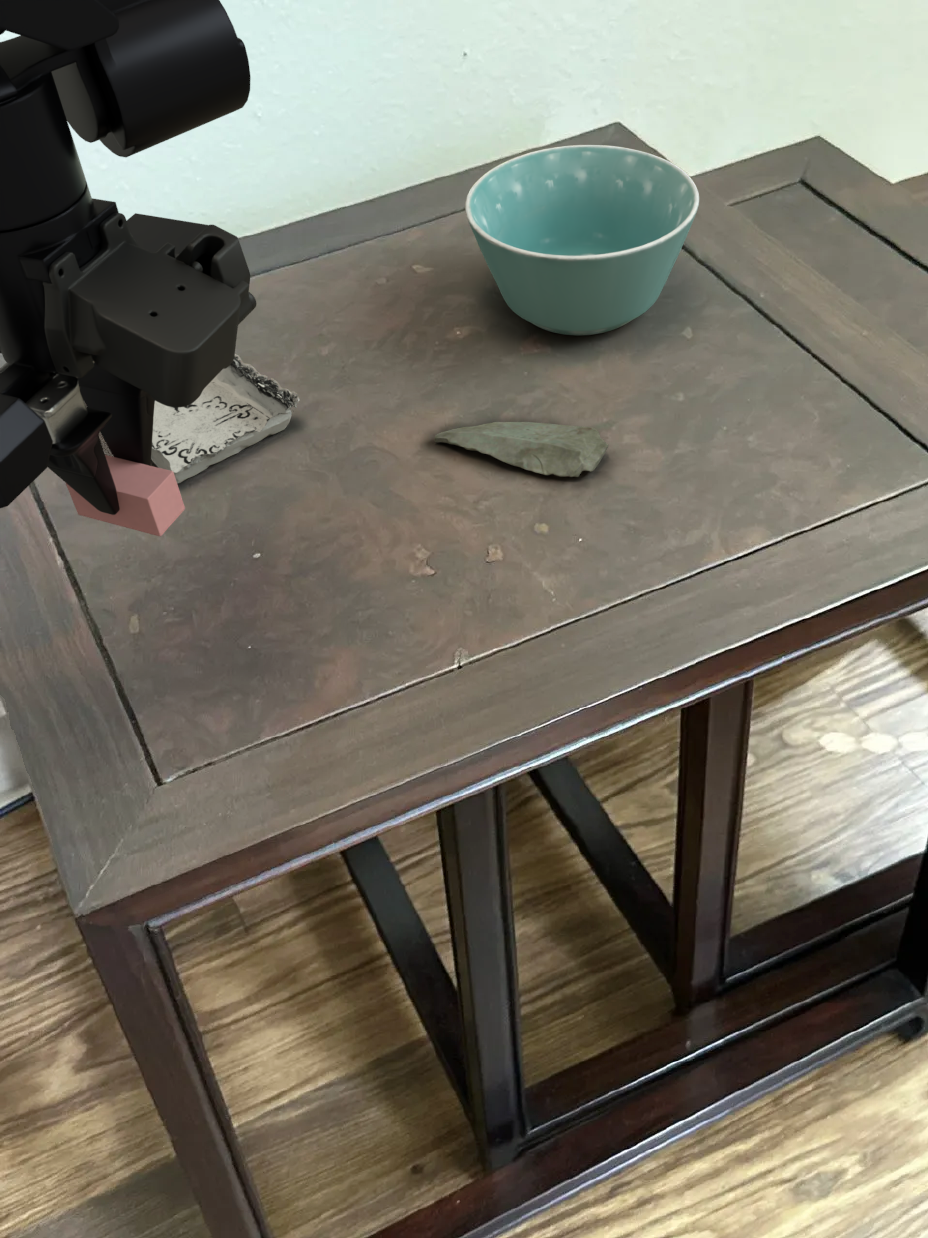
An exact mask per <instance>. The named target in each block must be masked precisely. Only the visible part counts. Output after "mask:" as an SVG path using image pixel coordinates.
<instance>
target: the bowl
mask: <svg viewBox="0 0 928 1238" xmlns="http://www.w3.org/2000/svg"><path fill="white" fill-rule="evenodd" d="M699 205H700V194H699V189H698V187H697V185H696V183H695V182H694V179H692V178H691V177H690V175H689V174H688V173H687V172H686V171H685V170H683V169H682V168H681V167H679V166H678V165H676V164H675V163H674V162H671V161H669V160H667V159H665V158H663V157H660V156H657V155H655V154H653V153H649V152H646V151H643V150H638V149H634V148H628V147H623V146H616V145H604V144H603V145H602V144H575V145H573V144H572V145H563V146H556V147H554V146H553V147H548V148H543V149H539V150H535V151H531V152H527V153H524V154H520V155H518V156H515V157H512V158H511V159H510V158H509V159H508V160H506V161H505V162H502V163H500V164H497V165H496V166H494V167H493V168H491V169H490V170H487V172H486V173H484V174H483V175H482V176H481V177H480V178H478V180H476V182H475V183H474V184H473V185H472V186H471V188H470V189H469V192H468V193H467V195H466V198H465V203H464V211H465V216H466V219H467V221H468V224H469V226H470V229H471V231H472V234H473V236H474V238H475V240H476V243H477V246H478V248H479V250H480V252H481V254H482V256H483V259H484V260H485V264H486V265H487V267H488V269H489V272H490V273H491V275H492V277H493V280H494V281H495V284H496V285H497V287H498V289H499V292H500V294H501V297H502V298H503V300H504V302H505V303H506V305H507V306H508V307H509V309H511V311H512V312H514V313H515V314H516V315H517V316H518V317H520V318H521V319H523V320H525V321H527V322H529V323H531V324H532V325H534V326H536V327H537V328H540V329H542V330H544V331H547V332H551V333H555V334H560V335H566V336H591V335H599V334H603V333H608V332H610V331H614V330H616V329H618V328H621V327H624V326H625V325H627V324H628V323H630V322H631V321H633V320H635V319H637V318H639V317H640V316H642V315H643V314H645V313H646V312H647V311H648V310H650V309H651V308H652V306H653V305H654V304H655V303H656V302H657V301H658V299H659V297H660V295H661V293H662V291H663V290H664V287H665V285H666V283H667V281H668V278H669V276H670V274H671V272H672V270H673V267H674V266H675V264H676V261H677V259H678V258H679V255H680V252H681V250H682V248H683V246H684V243H685V241H686V239H687V237H688V234H689V232H690V230H691V227H692V225H693V223H694V220H695V218H696V215H697V212H698V209H699Z"/></svg>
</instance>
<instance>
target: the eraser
mask: <svg viewBox="0 0 928 1238" xmlns="http://www.w3.org/2000/svg"><path fill="white" fill-rule="evenodd" d="M105 457H106V460H107V463H108V466H109V469H110V472H111V475H112V478H113V481H114V484H115V487H116V490H117V497H118V503H119V508H120V510H119V511H118V512H117V513H116V514H115V515H111V514H108V513H104V512H101V511H99V510H97V509H96V508H95V507H94V506H93V505H91V504H90V503H89V502H88V501H87V500H85V499H84V498H83V497H82V496H81V495H80V494H78V493H77V492H76V491H75V490H74V489H73V488H71V487H70V486H69V485H68V484H67V483H66V482H64V483H65V485H66V488H67V491H68V493H69V495H70V498H71V500H72V503H73V506H74V507H75V510H76V513H77V515H78V516H81V517H85V518H88V519H93V520H97V521H101V522H104V523H108V524H111V525H116V526H119V527H121V528H122V527H123V528H126V529H130V530H134V531H138V532H142V533H145V534H149V535H153V536H156V537H162V536H163V535H164V534H165V533H166V532H167V530H168V529H169V527H171V526H172V524H174V522H175V521H176V520H177V519H178V518H179V517H180V515H182V513H183V512H184V511H185V510H186V506H185V504H184V500H183V497H182V494H181V491H180V488H179V484H178V483H177V482H176V479H175V476H174V472H173V471H170V470H166V469H161V468H158V467H157V466H153V465H151V466H149V465H145V464H141V463H137V462H133V461H129V460H125V459H120V458H116V457H114V456H113V455H107V454H105Z"/></svg>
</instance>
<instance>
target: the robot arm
mask: <svg viewBox="0 0 928 1238" xmlns="http://www.w3.org/2000/svg"><path fill="white" fill-rule="evenodd" d="M5 32H8V33H12V34H15V35H18V36H15V37H12V38H9V39H6V40H3V41H0V354H1V355H2V358H3V360H4V361H5V362H6V363H4V364H3V365H2V366H1V367H0V509H3V508H6V507H8V506H10V505H11V504H12V503H13V502H14V501H15V500H16V499H17V498H18V497H19V496H20V495H21V494H22V493H23V492H24V491H25V490H26V489H27V488H28V487H29V486H30V485H31V484H32V483H33V482H34V481H35V480H36V479H37V478H38V477H39V476H40V475H42V473H44V471H46V470H47V468H48V469H49V470H51V472H52V473H54V474H55V475H56V476H57V477H59V479H60V480H62V481H63V482H64V483H65V482H66V483H67V484H68V485H69V486H70V487H71V488H73V489H74V490H75V491H76V492H77V493H78V494H80V495H81V496H82V497H83V498H84V499H85V500H87V501H88V502H89V503H90V504H91V505H93V506H94V507H95V508H96V509H97V510H99V511H101V512H104V513H108V514H111V515H115V514H116V513H117V512H118V511H119V510H120V508H119V503H118V497H117V490H116V487H115V484H114V481H113V478H112V475H111V472H110V469H109V466H108V463H107V460H106V457H105V455H106V453H105V451H104V448H103V445H102V442H101V439H100V434H101V436H102V438H103V440H104V442H105V443H106V445H107V448H108V450H109V451H110V453H111V456H112V457H116V458H120V459H125V460H129V461H133V462H137V463H141V464H145V465H149V466H152V459H151V452H152V436H153V419H154V418H153V417H154V405H155V401H157V402H159V403H161V404H163V405H166V406H169V407H185V406H188V405H190V404H192V403H193V402H194V401H196V400H197V399H198V398H199V397H200V395H201V393H202V391H203V390H204V388H205V387H206V386H207V385H208V384H209V383H210V382H211V381H212V380H213V379H214V378H215V377H216V376H217V375H218V374H219V373H220V372H221V371H222V370H223V369H226V368H227V367H228V366H229V365H230V364H231V363H232V362H233V360H234V356H235V354H236V348H237V339H238V328H239V325H240V324H241V323H242V322H243V321H244V320H245V319H246V318H247V317H248V316H249V315H250V314H251V313H252V312H253V311H254V310H255V309H256V307H257V304H258V303H257V300H256V297H255V296H254V294H253V293H251V292H250V284H251V272H250V268H249V266H248V264H247V260H246V257H245V254H244V252H243V248H242V246H241V243H240V239H239V237H238V236H237V235H234V234H233V233H231V232H229V231H227V230H225V229H222V227H219V226H217V225H216V224H206V223H205V224H204V223H198V222H193V221H185V220H180V219H173V218H168V217H161V216H155V215H149V214H142V213H138V212H137V213H136V212H135V213H133V215H131V216H130V217H129V218H128V219H127V218H126V216H125V214H124V213H121V212H120V211H119V208H118V205H117V201H112V200H106V199H101V198H100V199H98V198H94V197H92V195H91V191H90V188H89V184H88V182H87V179H86V175H85V172H84V168H83V166H82V163H81V160H80V156H79V154H78V150H77V147H76V144H75V142H74V138H73V135H72V132H71V129H72V130H73V131H74V132H75V133H76V134H77V135H78V136H79V138H81V139H82V140H83V141H85V142H87V143H89V144H92V143H95V142H97V141H100V142H101V143H102V145H103V146H104V147H106V148H107V149H108V150H109V151H110V152H111V153H113V154H114V155H116V156H117V157H120V158H129V157H131V156H133V155H136V154H138V153H140V152H143V151H146V150H147V149H150V148H153V147H155V146H157V145H159V144H162V143H163V142H166V141H169V140H171V139H173V138H176V137H178V136H180V135H183V134H184V133H187V132H189V131H192V130H195V129H196V128H199V127H202V126H203V125H206V124H208V123H210V122H211V123H212V122H213V121H215V120H218V119H220V118H223V117H224V116H227V115H229V114H231V113H234V112H236V111H239V110H240V109H243V108H244V106H245V105H246V103H247V102H248V100H249V96H250V92H251V70H250V68H251V67H250V62H249V56H248V52H247V49H246V45H245V43H244V41H243V40H242V39H241V38H240V37H238V35H237V33H236V30H235V26H234V25H233V23H232V20H231V19H230V17H229V15H228V12H227V11H226V8H225V7H224V6H223V3H222V2H221V0H0V36H1V35H3V34H5ZM70 127H71V128H70ZM66 483H65V484H66Z"/></svg>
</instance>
